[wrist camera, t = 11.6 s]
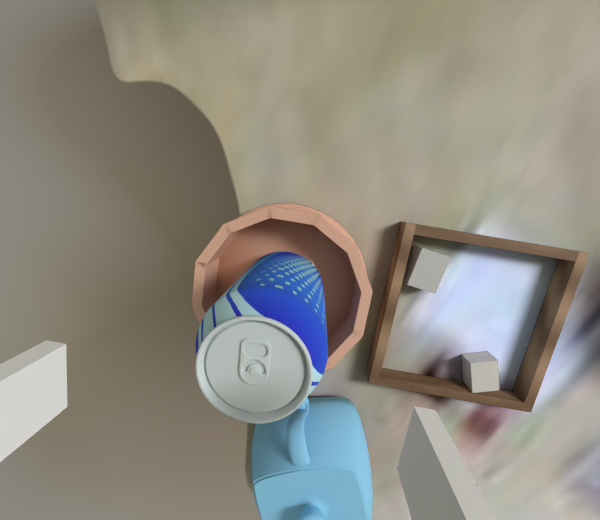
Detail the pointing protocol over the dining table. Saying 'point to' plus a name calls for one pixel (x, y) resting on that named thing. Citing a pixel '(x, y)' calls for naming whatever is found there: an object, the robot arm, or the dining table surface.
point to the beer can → (264, 340)
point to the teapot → (313, 464)
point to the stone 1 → (425, 269)
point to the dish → (301, 240)
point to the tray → (539, 344)
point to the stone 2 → (480, 372)
